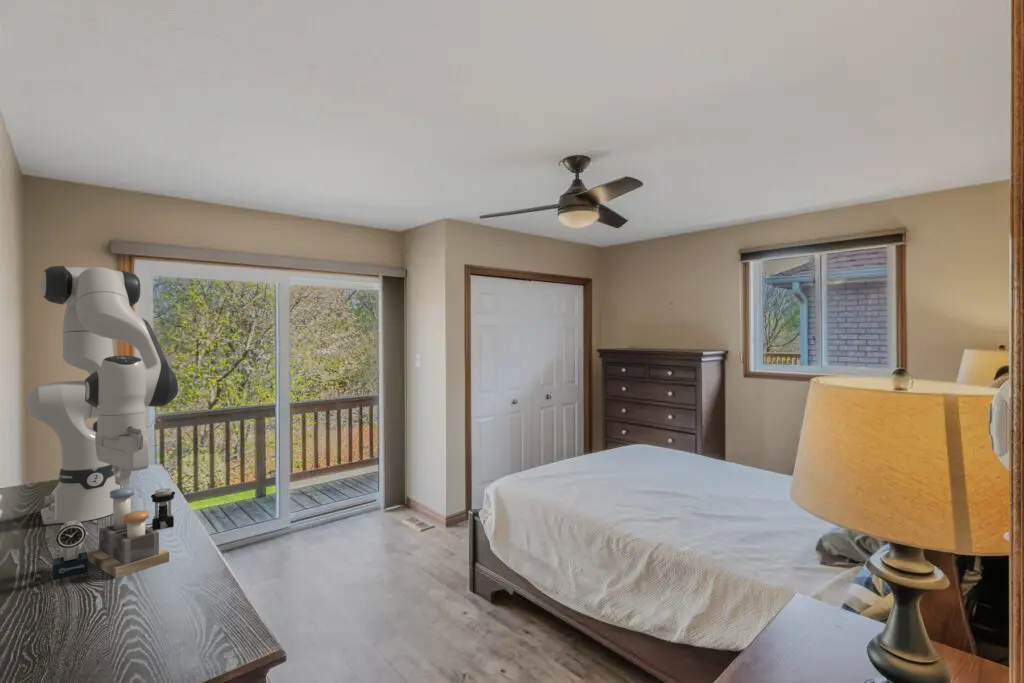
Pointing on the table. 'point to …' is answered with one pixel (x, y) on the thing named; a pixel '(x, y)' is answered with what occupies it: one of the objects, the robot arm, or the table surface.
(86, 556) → the watch
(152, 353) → the robot arm
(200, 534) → the table surface
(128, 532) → the knob
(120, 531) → the mount
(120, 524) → the knob
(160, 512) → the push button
